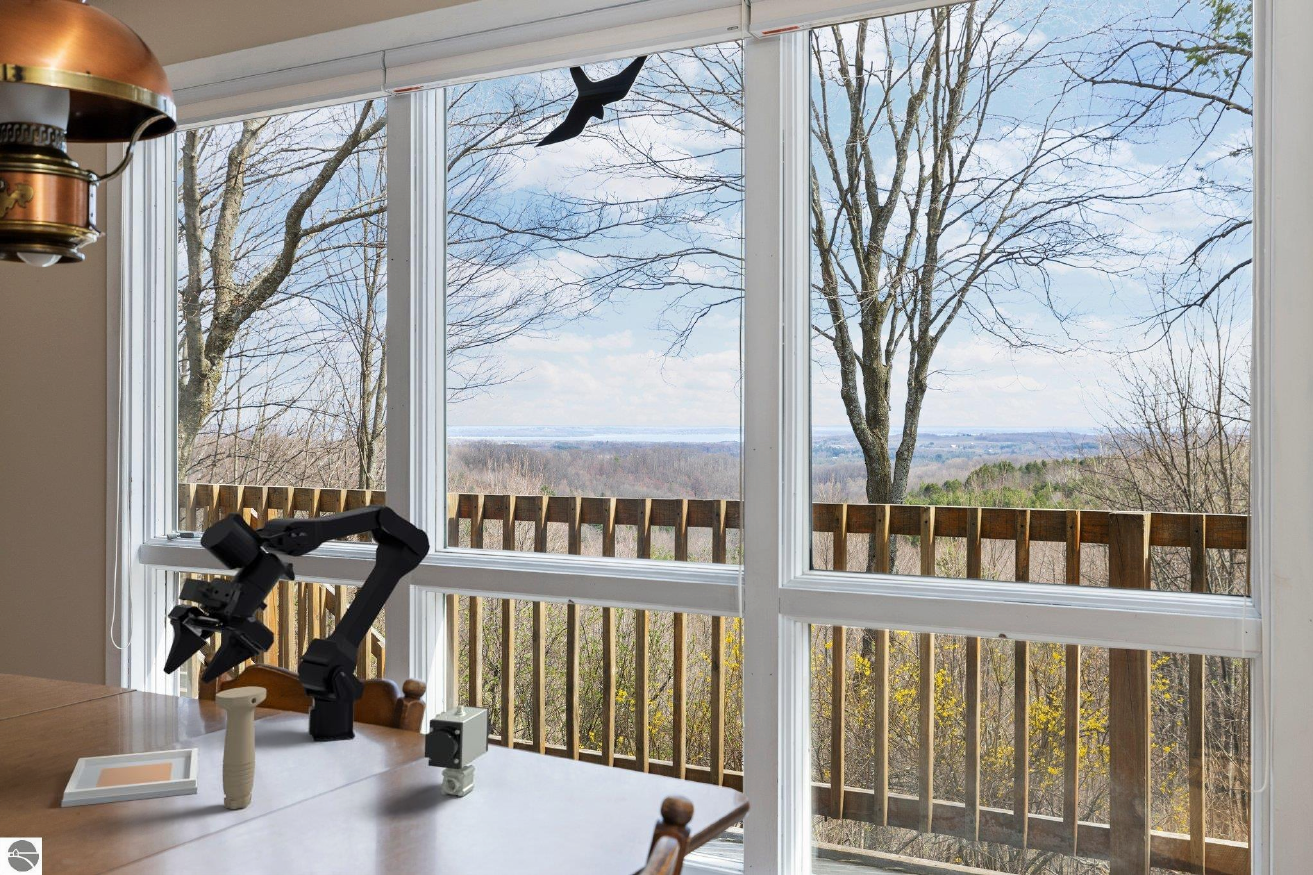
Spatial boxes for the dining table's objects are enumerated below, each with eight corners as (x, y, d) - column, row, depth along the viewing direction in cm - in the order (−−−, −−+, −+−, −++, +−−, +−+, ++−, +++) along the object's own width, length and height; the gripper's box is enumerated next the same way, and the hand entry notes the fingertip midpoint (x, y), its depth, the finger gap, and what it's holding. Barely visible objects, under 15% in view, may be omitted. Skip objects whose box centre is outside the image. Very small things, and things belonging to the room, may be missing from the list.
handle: (204, 809, 130) (208, 694, 130) (244, 795, 135) (248, 684, 136) (229, 816, 127) (233, 699, 128) (270, 801, 133) (273, 689, 133)
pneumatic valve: (491, 781, 144) (493, 697, 144) (453, 808, 133) (456, 717, 133) (456, 776, 145) (458, 694, 146) (416, 803, 134) (419, 713, 134)
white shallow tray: (199, 759, 150) (199, 747, 150) (196, 793, 136) (197, 779, 136) (77, 770, 144) (77, 757, 144) (61, 807, 129) (62, 793, 129)
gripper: (177, 551, 151) (107, 638, 143) (253, 561, 141) (183, 655, 133) (226, 593, 158) (162, 679, 150) (301, 605, 148) (238, 698, 140)
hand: (184, 677), depth 143 cm, fingers open, 9 cm apart
